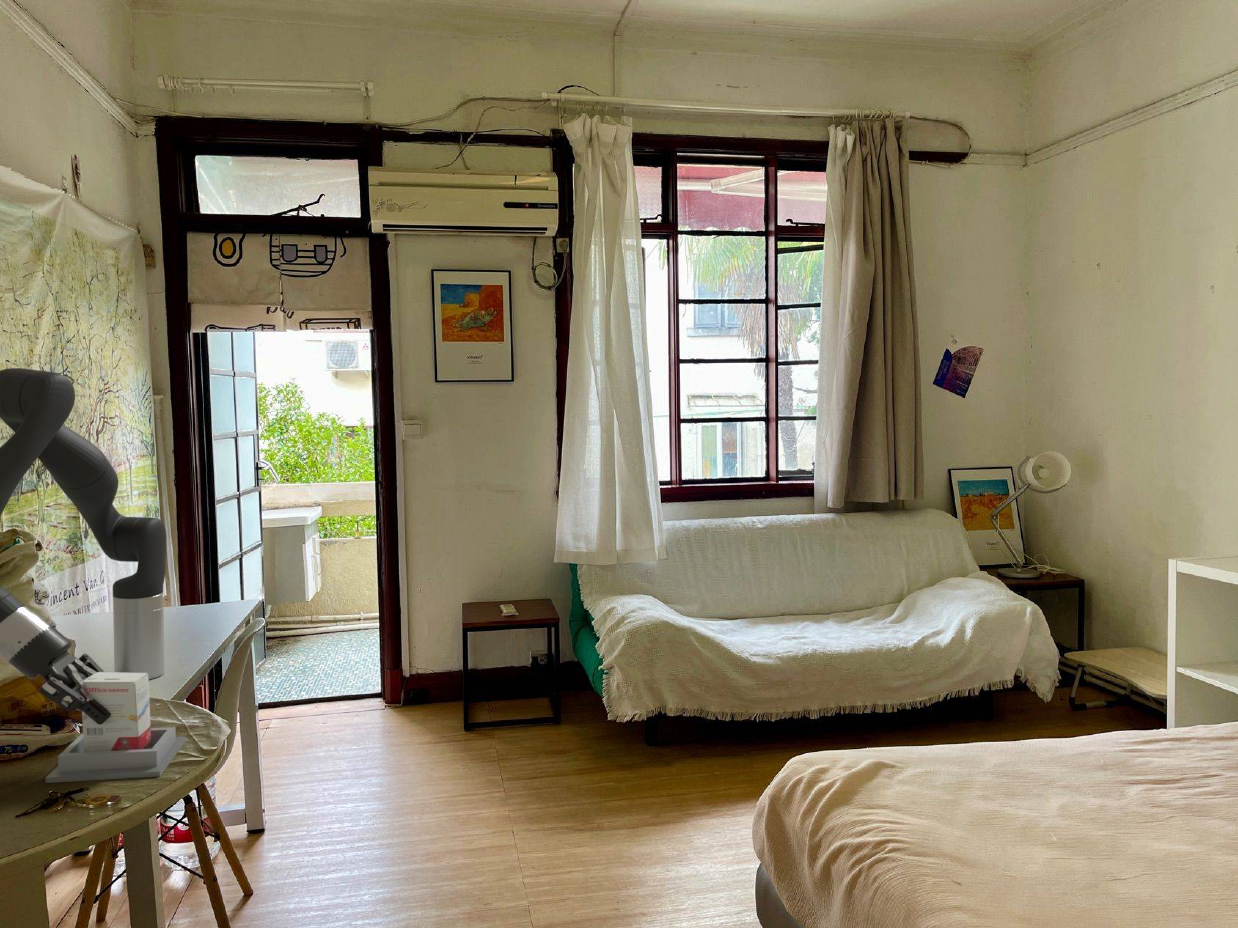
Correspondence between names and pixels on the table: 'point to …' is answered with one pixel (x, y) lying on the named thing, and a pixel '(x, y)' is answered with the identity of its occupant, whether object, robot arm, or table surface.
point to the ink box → (118, 712)
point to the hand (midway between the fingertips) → (113, 712)
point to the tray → (117, 759)
